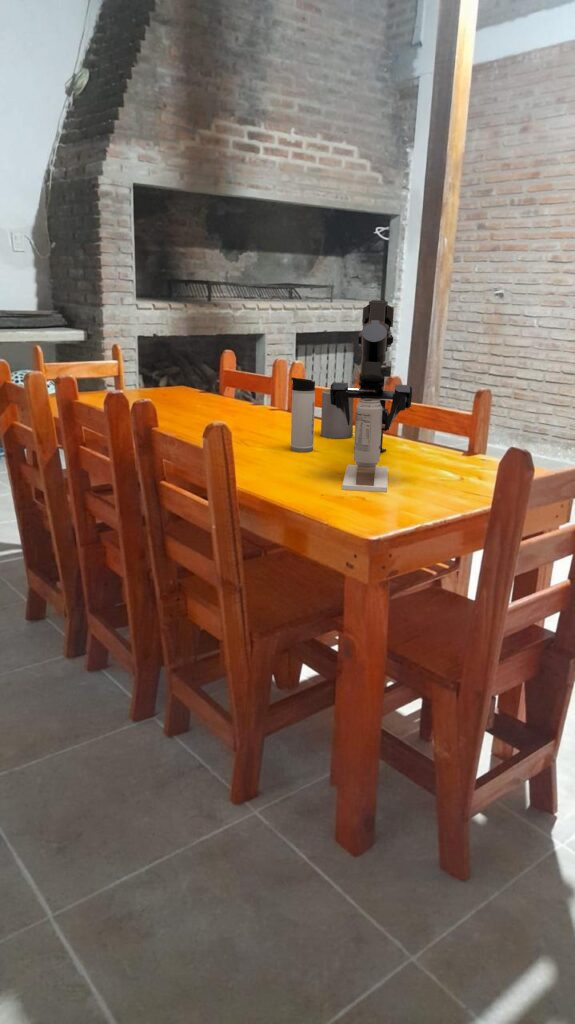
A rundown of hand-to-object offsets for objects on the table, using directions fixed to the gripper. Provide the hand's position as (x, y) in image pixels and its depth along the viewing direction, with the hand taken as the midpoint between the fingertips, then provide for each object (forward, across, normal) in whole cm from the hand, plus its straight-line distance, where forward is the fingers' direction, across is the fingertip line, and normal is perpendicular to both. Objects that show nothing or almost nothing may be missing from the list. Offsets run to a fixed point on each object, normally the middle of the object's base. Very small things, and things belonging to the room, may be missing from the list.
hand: (368, 425), depth 164 cm
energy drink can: (+6, 0, +8) cm, 10 cm away
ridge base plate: (+8, 0, +12) cm, 14 cm away
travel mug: (-13, -19, +32) cm, 39 cm away
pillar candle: (-28, -11, +48) cm, 57 cm away
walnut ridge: (+8, 0, +12) cm, 14 cm away
